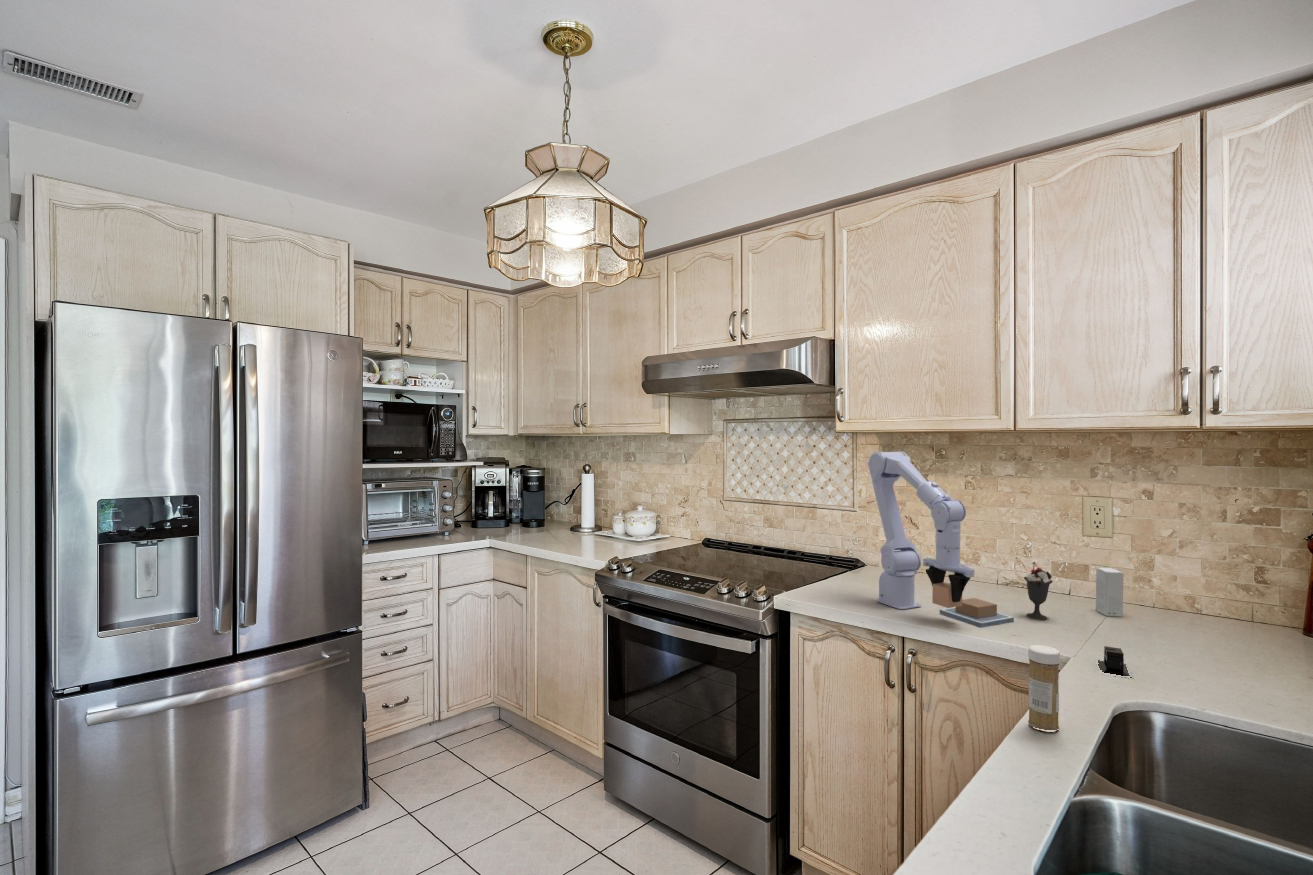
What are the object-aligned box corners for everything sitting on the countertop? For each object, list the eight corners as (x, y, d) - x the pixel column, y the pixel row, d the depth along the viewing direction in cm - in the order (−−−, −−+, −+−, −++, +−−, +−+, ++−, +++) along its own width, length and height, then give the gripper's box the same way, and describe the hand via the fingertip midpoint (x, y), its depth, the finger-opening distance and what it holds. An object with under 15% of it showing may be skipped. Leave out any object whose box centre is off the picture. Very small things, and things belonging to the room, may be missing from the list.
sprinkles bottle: (1065, 730, 106) (1066, 650, 106) (1047, 736, 104) (1048, 654, 104) (1039, 719, 110) (1040, 642, 110) (1021, 724, 108) (1022, 645, 108)
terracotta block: (932, 602, 166) (932, 583, 166) (946, 600, 168) (946, 582, 168) (948, 607, 161) (948, 588, 161) (962, 605, 163) (962, 586, 163)
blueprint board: (939, 613, 172) (939, 598, 172) (971, 608, 177) (971, 594, 177) (981, 627, 161) (981, 611, 160) (1013, 621, 165) (1013, 606, 165)
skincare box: (1123, 617, 169) (1124, 572, 169) (1105, 616, 170) (1106, 571, 170) (1112, 610, 175) (1112, 567, 175) (1094, 609, 176) (1095, 567, 176)
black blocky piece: (1089, 658, 140) (1090, 638, 140) (1130, 664, 137) (1131, 643, 137) (1096, 678, 130) (1097, 656, 129) (1141, 685, 126) (1141, 662, 126)
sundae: (1021, 618, 168) (1024, 562, 167) (1023, 611, 174) (1025, 557, 173) (1051, 622, 165) (1053, 565, 164) (1051, 615, 170) (1053, 560, 170)
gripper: (914, 542, 169) (914, 593, 170) (960, 553, 156) (959, 607, 156) (934, 541, 172) (933, 590, 172) (980, 550, 159) (979, 604, 159)
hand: (947, 598), depth 165 cm, fingers closed on terracotta block, 5 cm apart
